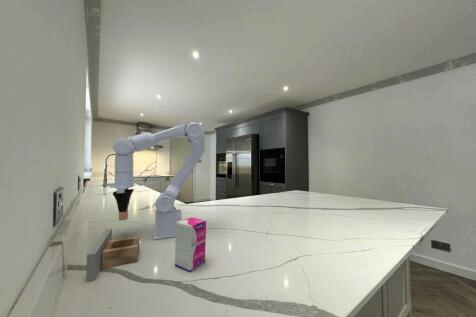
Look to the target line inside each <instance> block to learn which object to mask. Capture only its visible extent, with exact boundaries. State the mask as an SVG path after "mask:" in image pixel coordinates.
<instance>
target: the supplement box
mask: <svg viewBox="0 0 476 317" xmlns="http://www.w3.org/2000/svg"><path fill="white" fill-rule="evenodd" d="M206 235H207V220H205V219H200V218H197V217H189V218H185V219H182V220H181V221H178V222H176V236H175V248H174V252H175V253H174V266H175V267H176V268H179V269H180V270H183V271H185V272H188V273H191V272H192V271H194V270H195V269H197V268H199V267H200V266H202V265H203V264H205V263H206V243H207V241H206V240H207V238H206V237H207V236H206Z"/></svg>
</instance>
